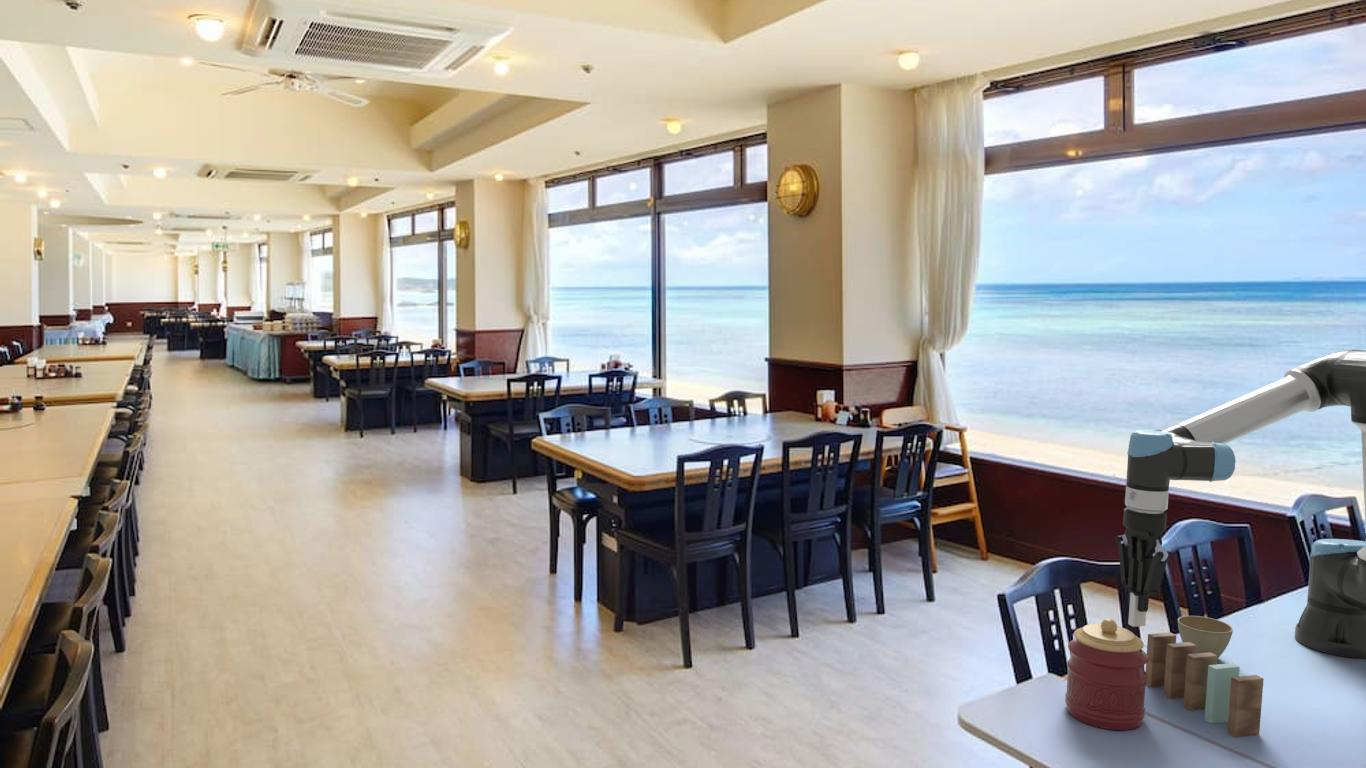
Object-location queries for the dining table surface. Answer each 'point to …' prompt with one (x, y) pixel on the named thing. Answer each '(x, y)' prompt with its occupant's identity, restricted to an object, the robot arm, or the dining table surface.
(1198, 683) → the domino
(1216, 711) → the domino
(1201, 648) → the flower pot
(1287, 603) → the dining table surface
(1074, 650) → the canister
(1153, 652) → the domino
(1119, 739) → the dining table surface
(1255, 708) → the domino
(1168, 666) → the domino
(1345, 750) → the dining table surface
